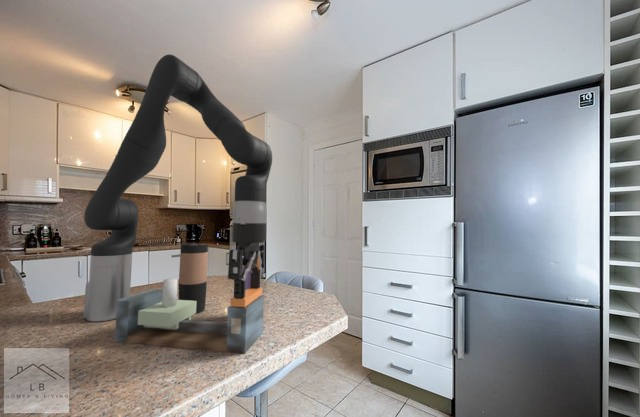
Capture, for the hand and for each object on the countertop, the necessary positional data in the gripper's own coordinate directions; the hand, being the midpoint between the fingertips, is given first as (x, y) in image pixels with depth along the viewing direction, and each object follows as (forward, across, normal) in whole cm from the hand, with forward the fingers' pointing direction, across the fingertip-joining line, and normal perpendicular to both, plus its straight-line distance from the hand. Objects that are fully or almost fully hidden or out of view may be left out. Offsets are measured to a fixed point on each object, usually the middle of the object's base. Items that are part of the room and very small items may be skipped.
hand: (247, 293), depth 58 cm
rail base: (+11, 0, -14) cm, 17 cm away
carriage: (+8, 0, -20) cm, 21 cm away
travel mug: (+11, -16, -25) cm, 31 cm away
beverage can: (+11, -14, -6) cm, 19 cm away
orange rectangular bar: (+2, 0, 0) cm, 2 cm away
